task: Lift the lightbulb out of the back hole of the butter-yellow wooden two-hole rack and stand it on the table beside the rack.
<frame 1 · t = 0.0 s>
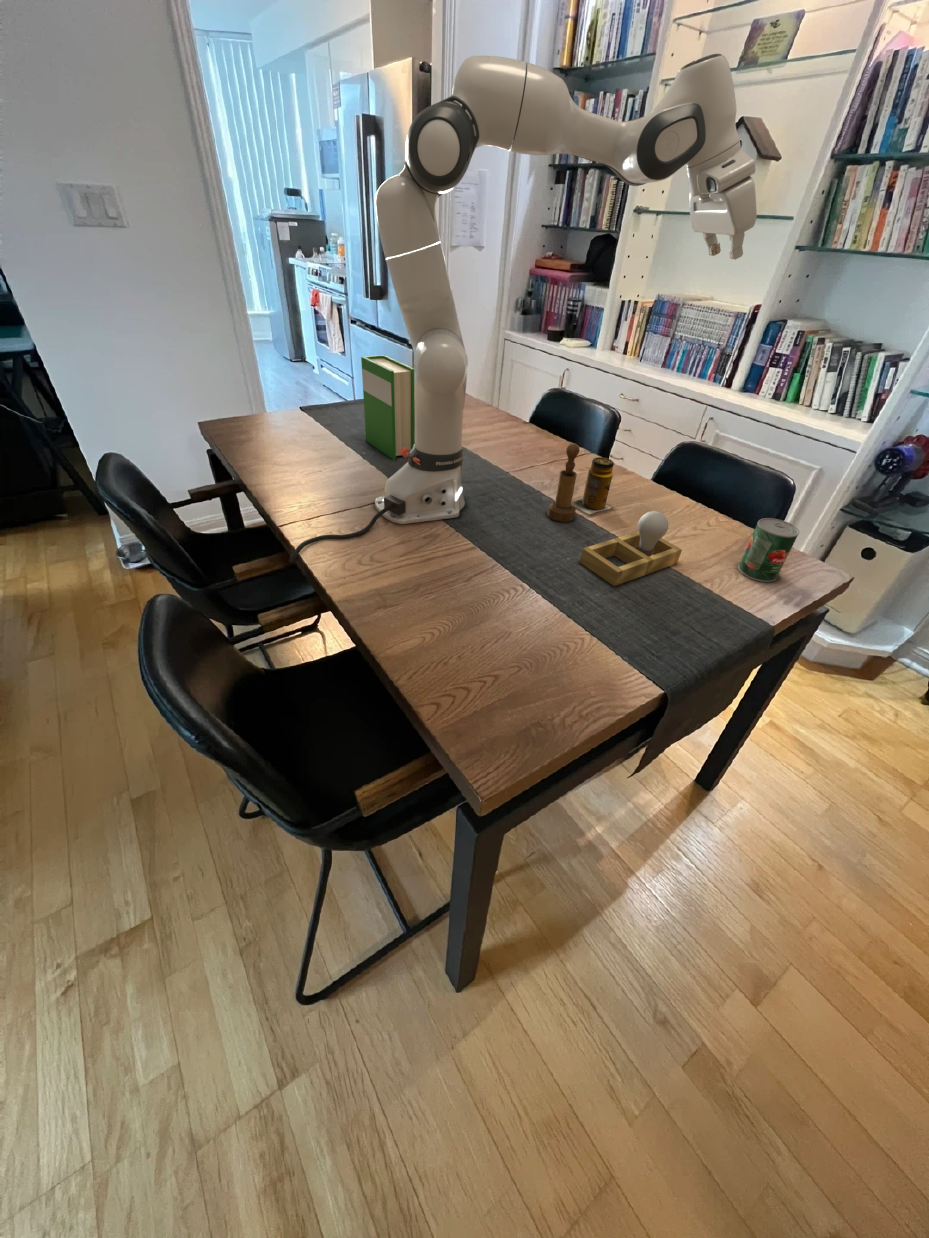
hand: (725, 256, 104), 54 cm above the table, tool tilted 30°, fingers open, 8 cm apart
condiment: (590, 506, 136), on the table
rack: (628, 562, 115), on the table
mortar and pestle: (560, 516, 131), on the table
lightbulb: (642, 558, 117), resting in rack
hardback book: (390, 448, 161), on the table
canned tomato: (756, 572, 115), on the table
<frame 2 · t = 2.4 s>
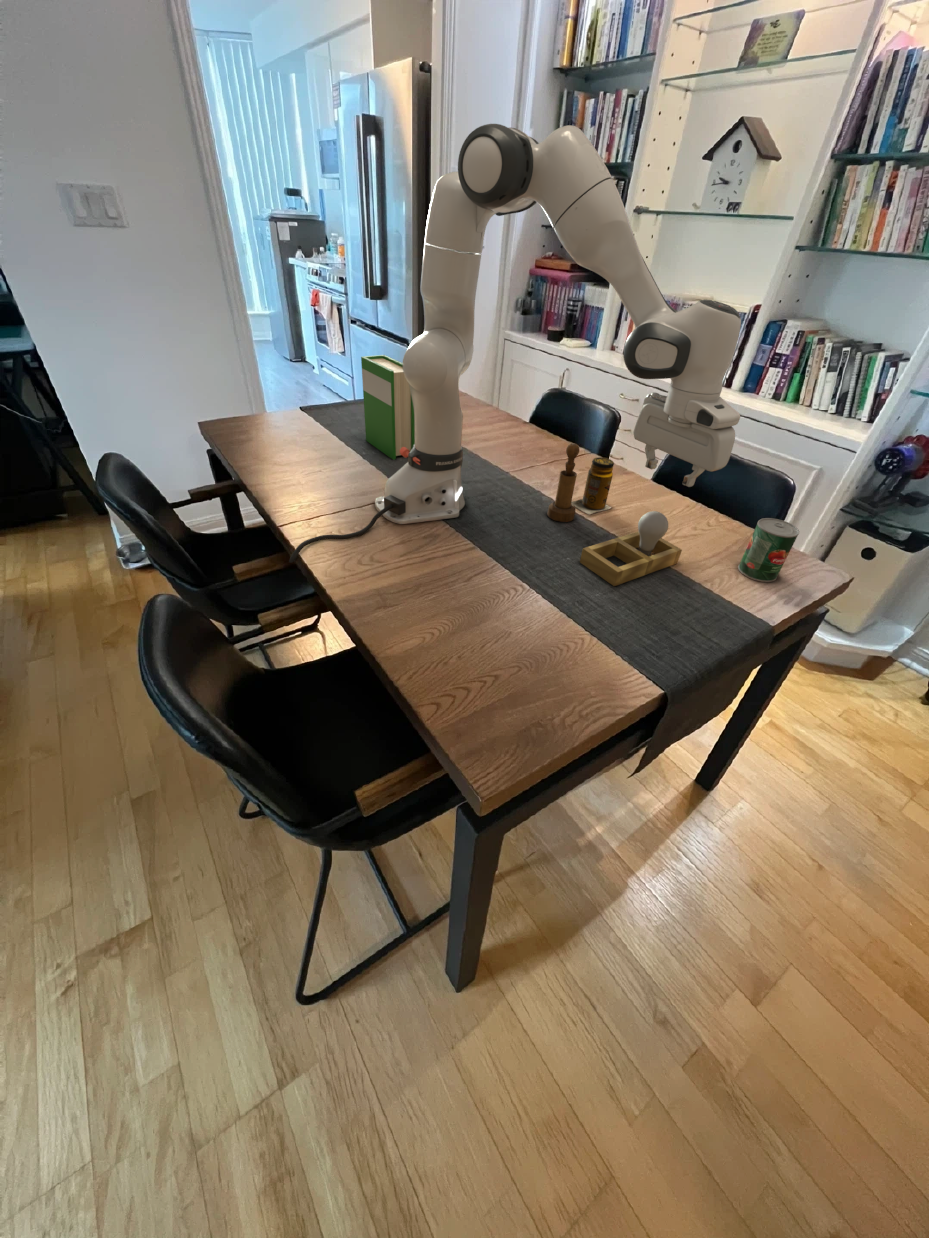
hand: (668, 476, 105), 19 cm above the table, tool pointing down, fingers open, 8 cm apart
nothing on the table moved.
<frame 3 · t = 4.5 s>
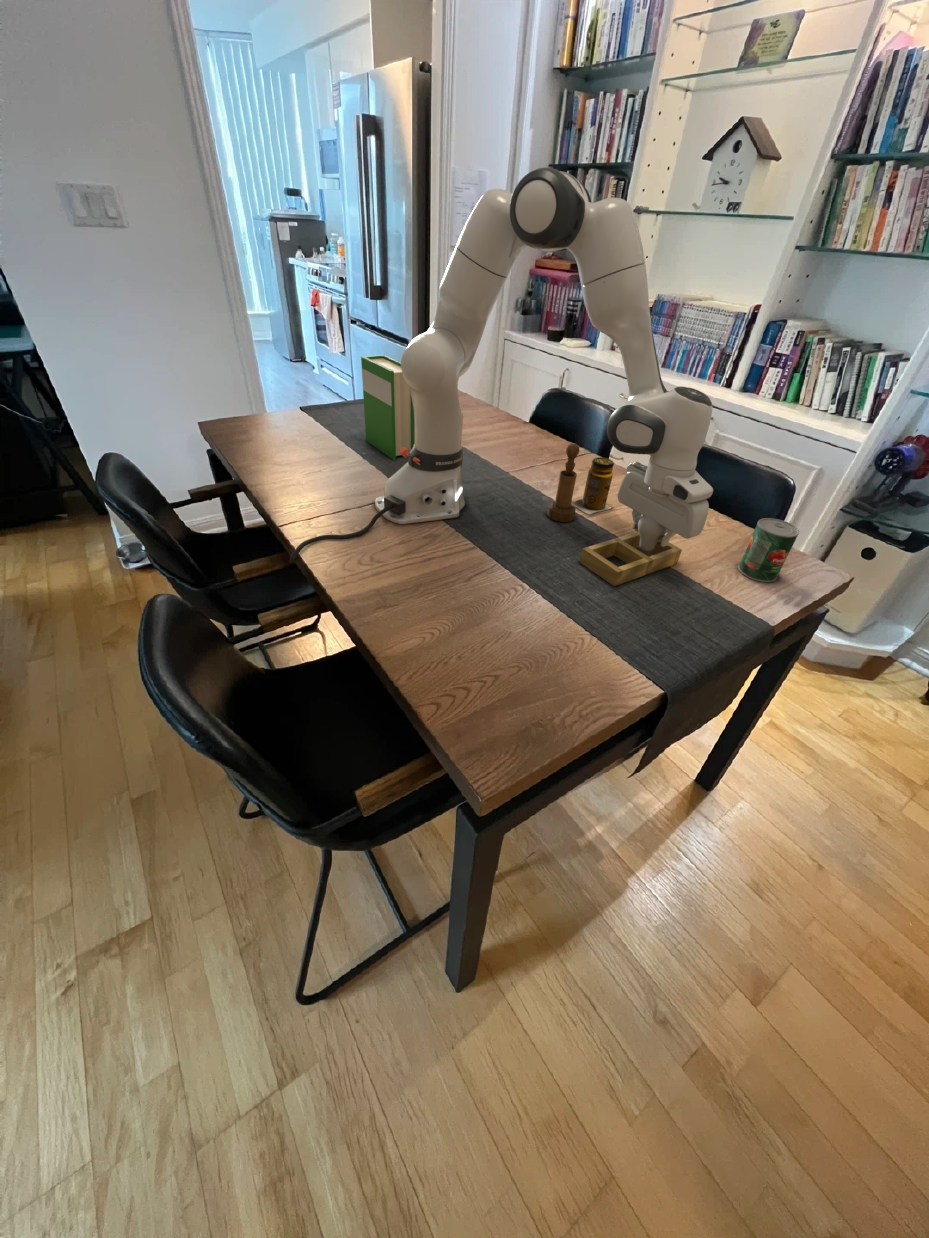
hand: (649, 537, 113), 5 cm above the table, tool pointing down, fingers closed on lightbulb, 6 cm apart
lightbulb: (642, 558, 117), resting in rack, touching gripper
everything else where it was.
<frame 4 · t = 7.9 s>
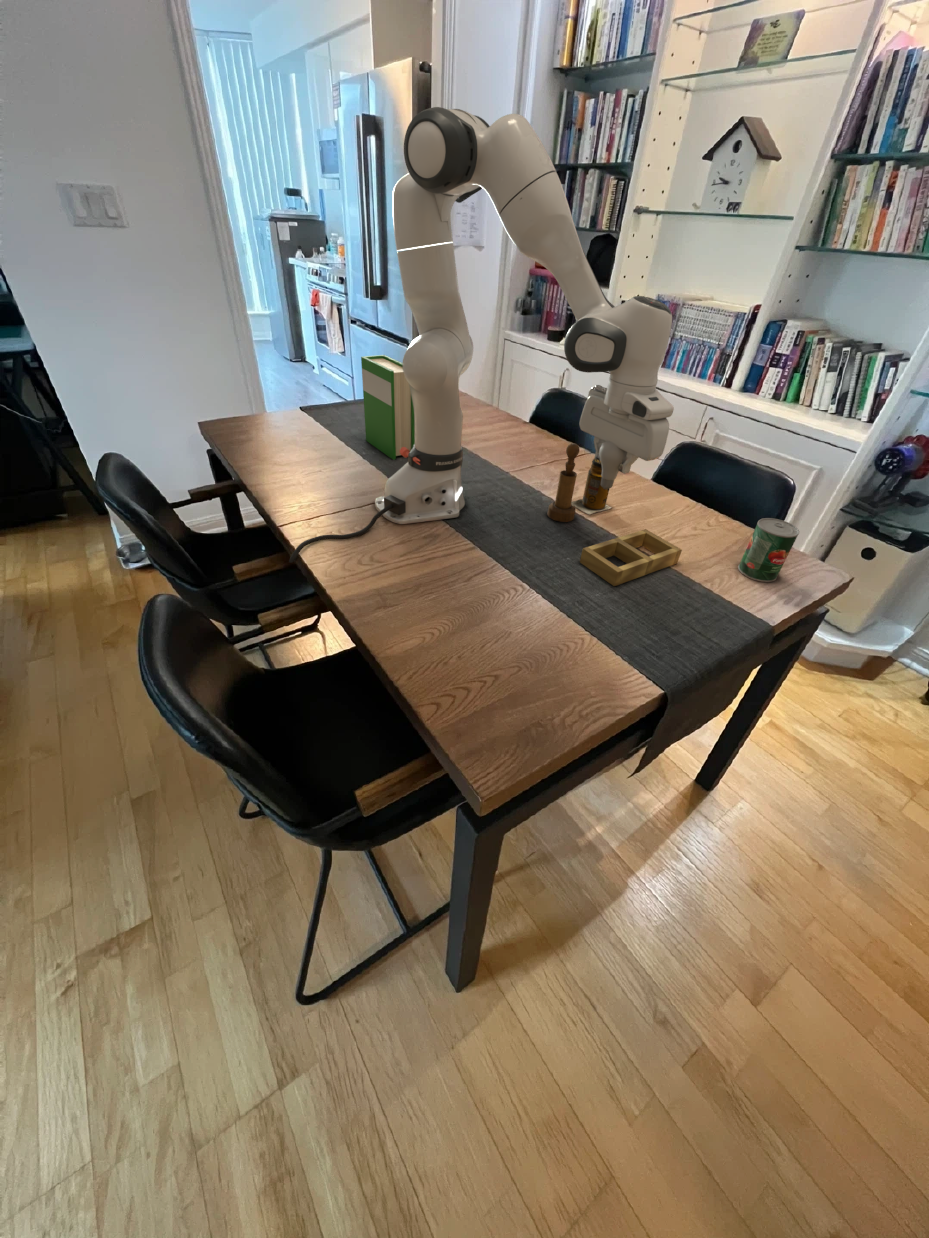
hand: (611, 466, 109), 18 cm above the table, tool pointing down, fingers closed on lightbulb, 6 cm apart
lightbulb: (605, 489, 113), point 13 cm above the table, touching gripper
everything else where it was.
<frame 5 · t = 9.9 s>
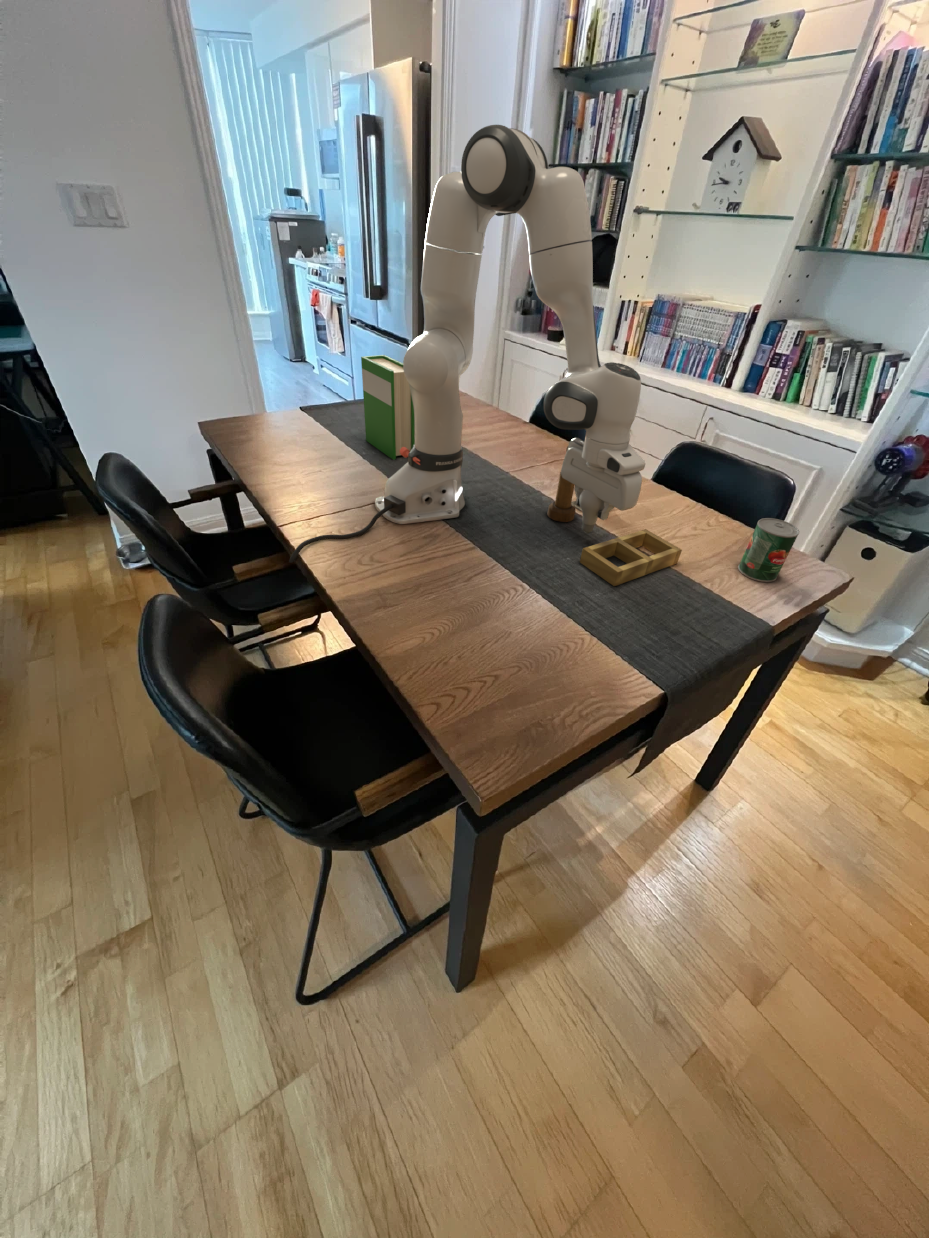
hand: (591, 512, 117), 7 cm above the table, tool pointing down, fingers closed on lightbulb, 6 cm apart
lightbulb: (586, 533, 120), point 2 cm above the table, touching gripper
everything else where it was.
when the fingers open (5 cm above the table, at t = 11.1 s): lightbulb stays where it is, on the table.
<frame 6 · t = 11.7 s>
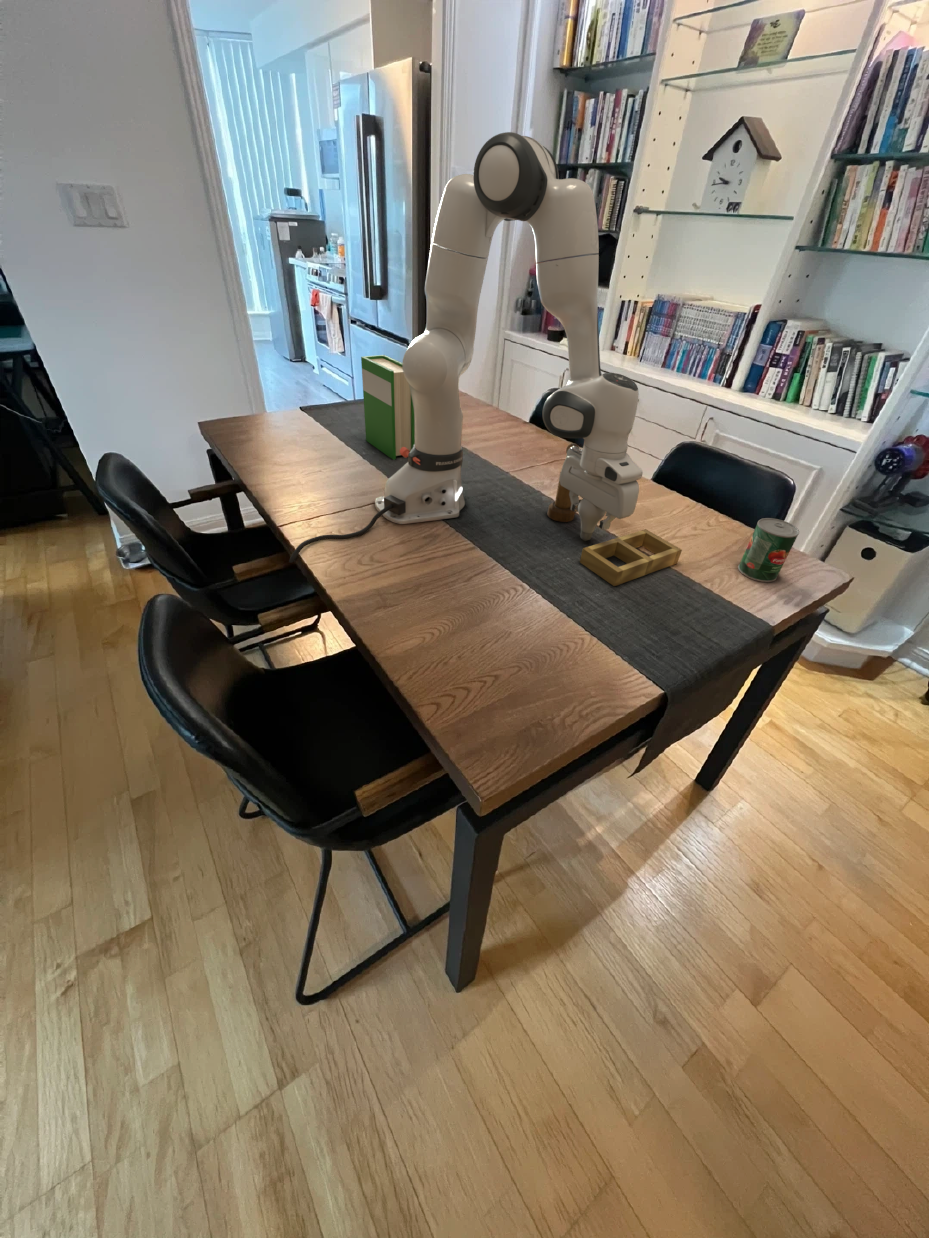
hand: (589, 519, 118), 5 cm above the table, tool pointing down, fingers open, 8 cm apart
lightbulb: (584, 540, 122), on the table
everything else where it was.
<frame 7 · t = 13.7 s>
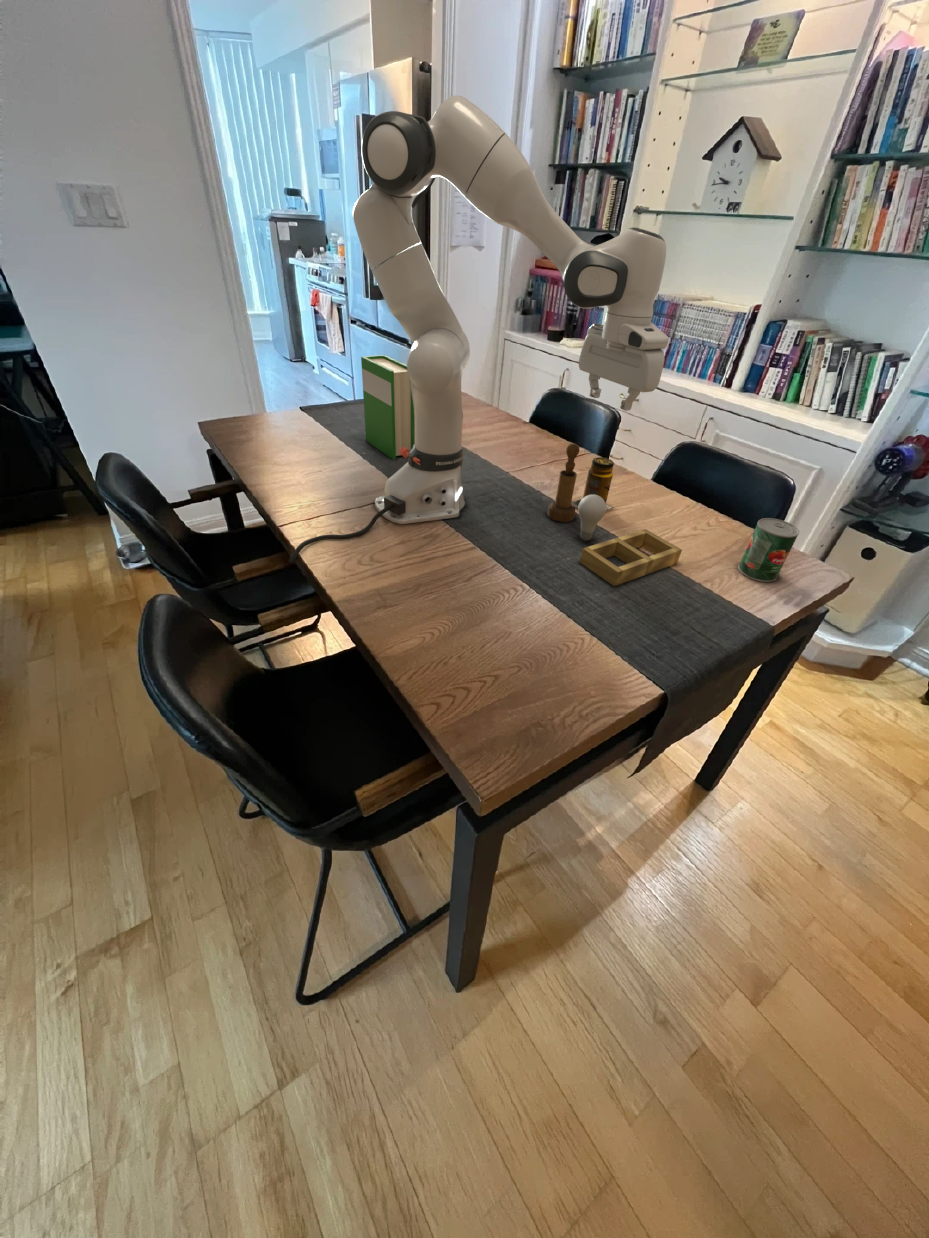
hand: (609, 403, 113), 28 cm above the table, tool pointing down, fingers open, 8 cm apart
nothing on the table moved.
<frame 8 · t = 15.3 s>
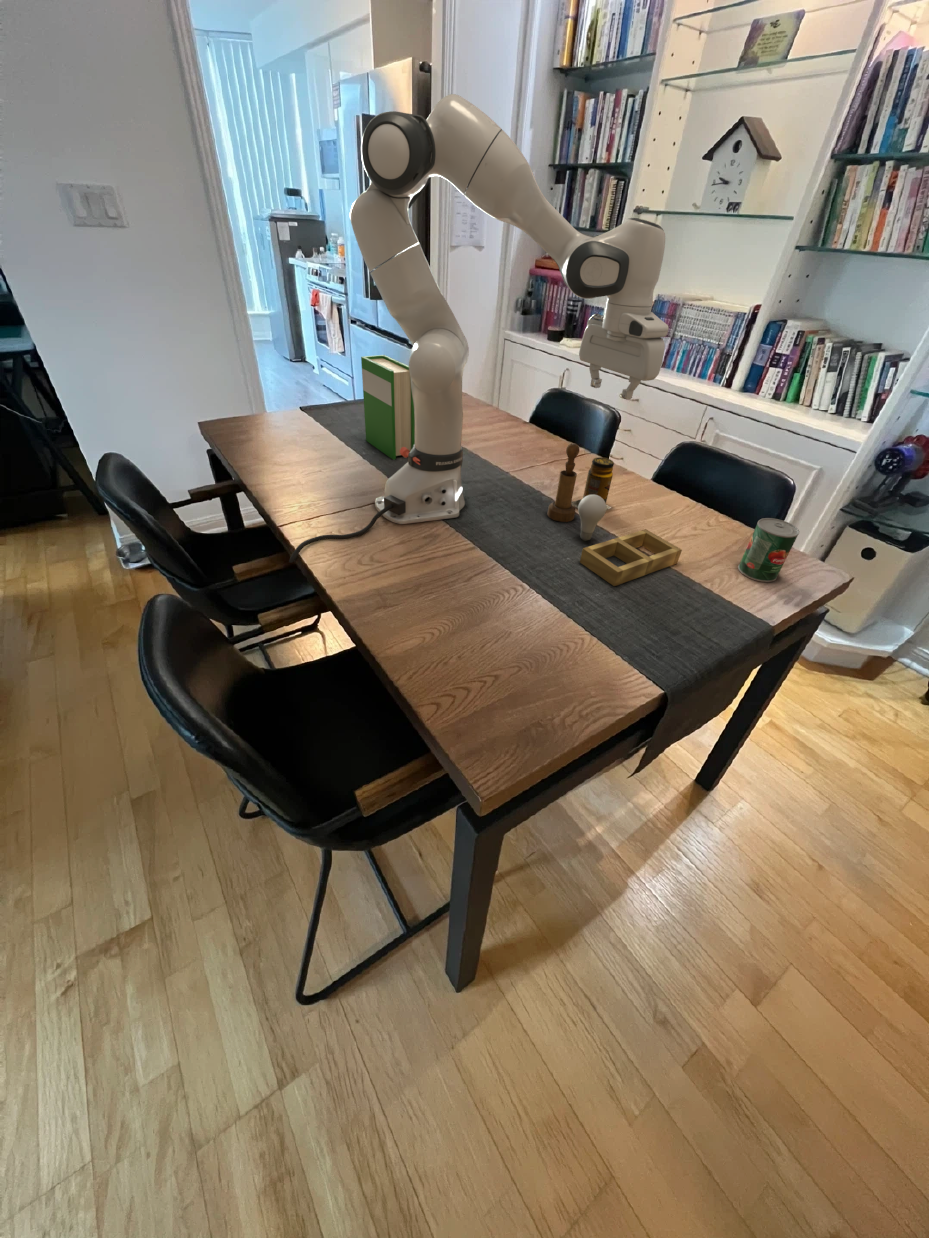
hand: (610, 392, 114), 29 cm above the table, tool pointing down, fingers open, 8 cm apart
nothing on the table moved.
at the end: lightbulb inside the target area (0.3 cm from its centre), on the table; lightbulb touching table; the gripper is holding nothing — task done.
